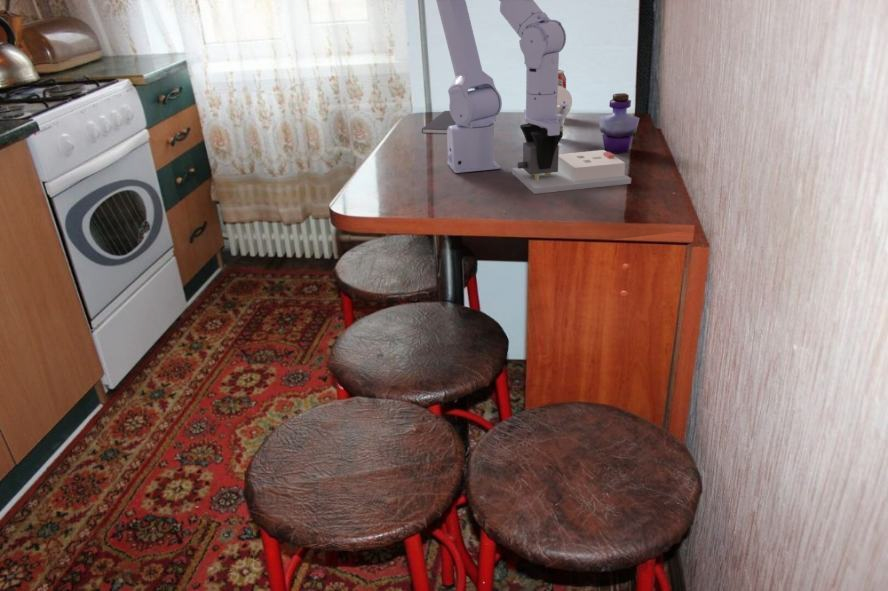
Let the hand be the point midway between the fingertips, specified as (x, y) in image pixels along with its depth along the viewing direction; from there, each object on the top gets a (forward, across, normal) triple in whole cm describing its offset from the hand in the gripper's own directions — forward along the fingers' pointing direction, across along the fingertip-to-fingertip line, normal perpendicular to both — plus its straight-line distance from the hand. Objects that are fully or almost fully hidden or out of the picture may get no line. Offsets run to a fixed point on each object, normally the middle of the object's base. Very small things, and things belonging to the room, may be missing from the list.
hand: (540, 164), depth 137 cm
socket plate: (+2, 0, -10) cm, 10 cm away
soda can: (+3, +50, -20) cm, 54 cm away
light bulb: (+3, +30, -14) cm, 33 cm away
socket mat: (+3, 0, -6) cm, 7 cm away
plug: (+2, 0, 0) cm, 2 cm away
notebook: (+4, +54, +4) cm, 54 cm away
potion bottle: (+3, +16, -23) cm, 28 cm away
